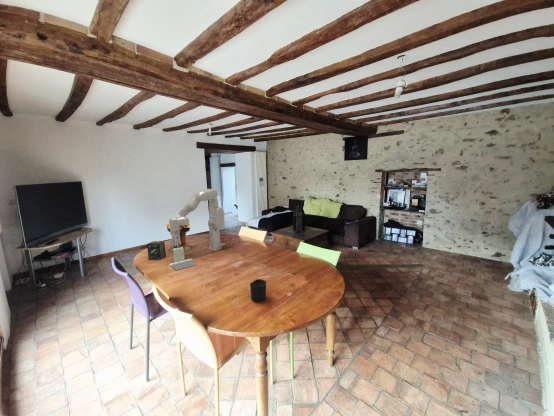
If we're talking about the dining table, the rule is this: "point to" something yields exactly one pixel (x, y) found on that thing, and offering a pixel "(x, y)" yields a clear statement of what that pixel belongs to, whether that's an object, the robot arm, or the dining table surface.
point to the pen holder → (258, 290)
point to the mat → (183, 265)
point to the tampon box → (156, 250)
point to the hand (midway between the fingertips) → (176, 252)
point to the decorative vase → (182, 235)
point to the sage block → (178, 254)
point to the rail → (180, 262)
